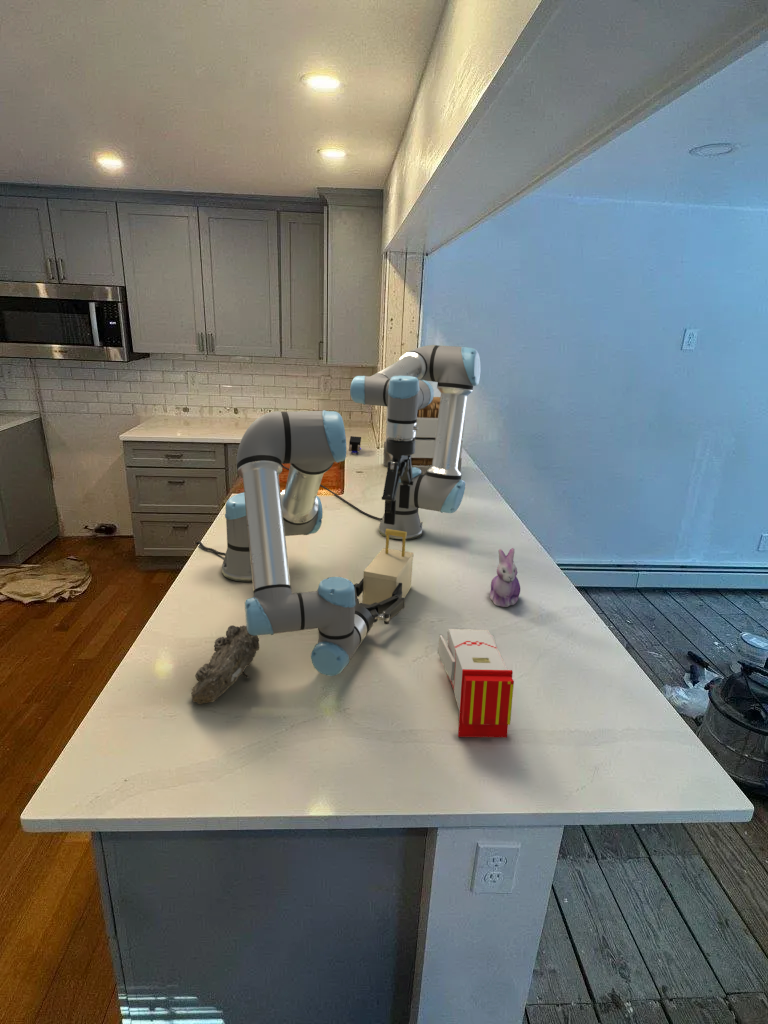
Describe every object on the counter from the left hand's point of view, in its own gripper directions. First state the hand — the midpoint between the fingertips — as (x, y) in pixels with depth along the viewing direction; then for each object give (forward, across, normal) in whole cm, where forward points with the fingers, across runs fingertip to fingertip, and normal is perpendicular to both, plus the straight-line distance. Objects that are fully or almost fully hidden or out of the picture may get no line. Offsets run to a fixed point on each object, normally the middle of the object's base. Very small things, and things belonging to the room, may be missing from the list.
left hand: (383, 584), depth 149 cm
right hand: (+10, 0, +16) cm, 19 cm away
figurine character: (+155, -66, -6) cm, 168 cm away
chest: (+5, 0, -6) cm, 8 cm away
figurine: (+16, +31, -6) cm, 35 cm away
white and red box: (-28, +28, -6) cm, 40 cm away
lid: (+5, 0, +3) cm, 6 cm away
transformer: (+130, -23, -6) cm, 132 cm away
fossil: (-41, -20, -6) cm, 46 cm away
